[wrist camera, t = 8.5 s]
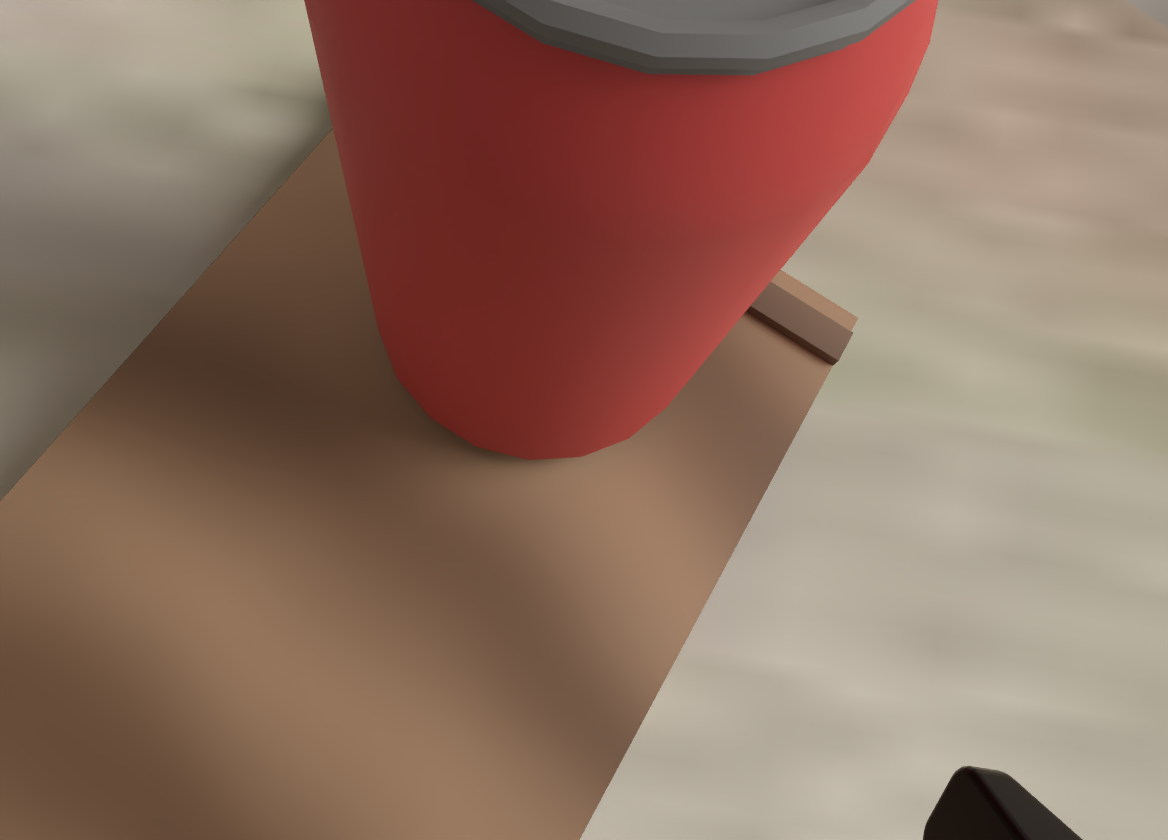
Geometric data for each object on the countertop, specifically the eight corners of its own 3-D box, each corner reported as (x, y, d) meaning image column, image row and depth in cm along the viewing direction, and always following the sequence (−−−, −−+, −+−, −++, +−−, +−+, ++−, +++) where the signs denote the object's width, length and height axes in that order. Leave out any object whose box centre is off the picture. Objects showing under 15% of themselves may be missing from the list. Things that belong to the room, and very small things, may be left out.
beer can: (557, 535, 17) (753, 289, 6) (309, 320, 18) (52, -288, 6) (751, 308, 19) (1183, -210, 8) (523, 118, 20) (619, -630, 8)
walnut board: (328, 1267, 15) (316, 1341, 13) (-272, 871, 15) (-362, 891, 13) (830, 343, 22) (864, 312, 20) (412, 83, 22) (410, 30, 20)
